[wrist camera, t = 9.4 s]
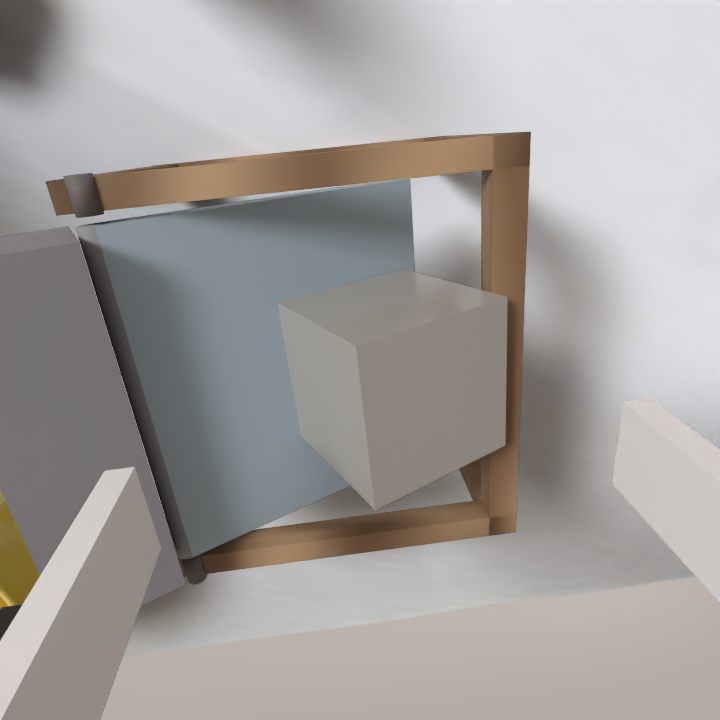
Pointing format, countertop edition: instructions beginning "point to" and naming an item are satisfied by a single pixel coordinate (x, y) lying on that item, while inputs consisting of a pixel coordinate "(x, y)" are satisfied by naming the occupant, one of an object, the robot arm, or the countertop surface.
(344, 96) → the countertop surface
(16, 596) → the plant pot
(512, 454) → the trapdoor frame
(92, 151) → the countertop surface
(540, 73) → the countertop surface
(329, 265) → the trapdoor
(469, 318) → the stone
